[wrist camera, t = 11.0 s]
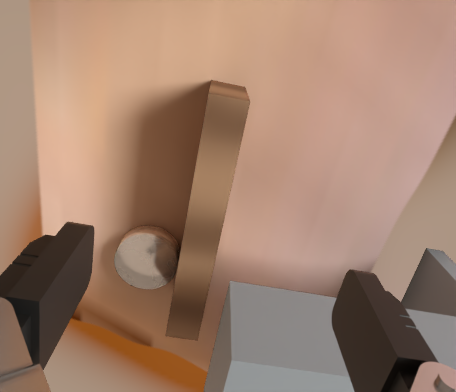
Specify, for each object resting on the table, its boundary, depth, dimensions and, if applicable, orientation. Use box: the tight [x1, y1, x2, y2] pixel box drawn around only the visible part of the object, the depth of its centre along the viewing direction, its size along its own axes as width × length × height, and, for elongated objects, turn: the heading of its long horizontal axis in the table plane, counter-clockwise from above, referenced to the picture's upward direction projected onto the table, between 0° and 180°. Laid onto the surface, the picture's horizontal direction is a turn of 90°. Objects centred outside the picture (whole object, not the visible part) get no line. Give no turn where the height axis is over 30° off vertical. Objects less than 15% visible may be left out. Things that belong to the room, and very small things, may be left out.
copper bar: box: [166, 80, 250, 341], centre depth 28 cm, size 18×2×6 cm, turn 169°
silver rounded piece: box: [114, 225, 180, 289], centre depth 32 cm, size 5×5×2 cm
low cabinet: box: [204, 248, 456, 392], centre depth 27 cm, size 10×18×15 cm, turn 79°
